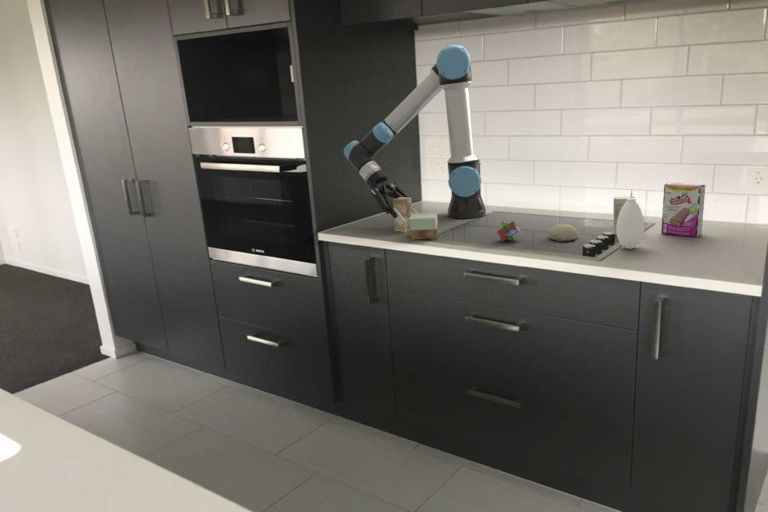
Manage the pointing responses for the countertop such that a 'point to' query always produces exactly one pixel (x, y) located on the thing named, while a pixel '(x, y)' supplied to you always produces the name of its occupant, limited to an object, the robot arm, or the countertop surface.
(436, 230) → the tower base block
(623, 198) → the skincare box
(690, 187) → the candy bar box
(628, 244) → the white air blower bulb
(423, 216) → the tower top block
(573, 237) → the sea urchin shell
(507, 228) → the geometric puzzle
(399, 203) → the tall oak block
